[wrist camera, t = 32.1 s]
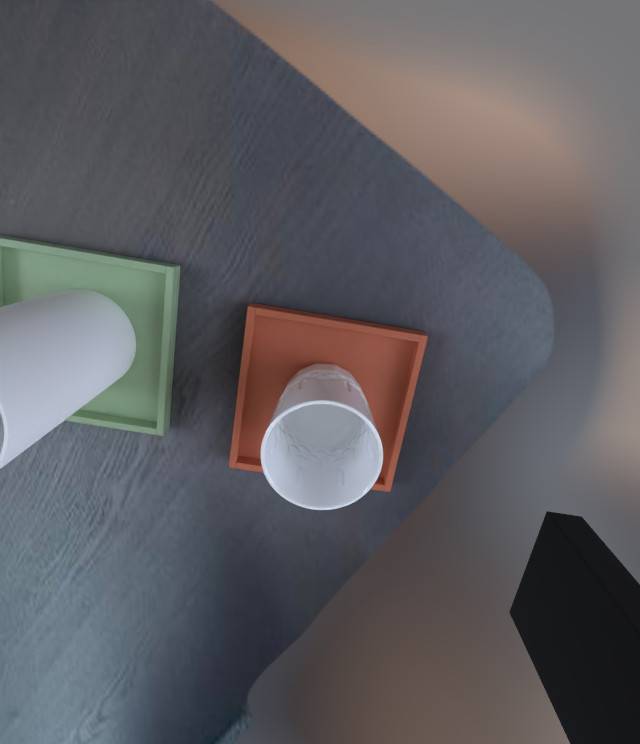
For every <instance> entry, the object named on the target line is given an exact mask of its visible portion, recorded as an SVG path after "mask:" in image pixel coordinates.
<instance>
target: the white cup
mask: <svg viewBox="0 0 640 744" xmlns="http://www.w3.org/2000/svg"><path fill="white" fill-rule="evenodd" d="M260 456H261V465H262V469H263V472H264V474H265V476H266V478H267V480H268V482H269V483H270V485H271V486H272V487H273V489H274V490H275V491H276V492H277V493H278V494H280V495H281V496H282V497H283V498H285V499H286V500H288V501H290V502H291V503H293V504H296V505H298V506H301V507H304V508H308V509H315V510H330V509H336V508H340V507H343V506H346V505H349V504H351V503H353V502H355V501H357V500H358V499H360V498H361V497H362V496H364V495H365V494H366V493H367V492H368V491H369V490H370V489H371V488H372V486H373V485H374V483H375V482H376V480H377V478H378V476H379V474H380V471H381V468H382V463H383V448H382V443H381V439H380V437H379V434H378V431H377V428H376V425H375V422H374V419H373V416H372V413H371V410H370V408H369V406H368V403H367V400H366V398H365V396H364V394H363V392H362V389H361V386H360V385H359V384H358V382H357V381H356V379H355V378H354V377H353V375H352V374H351V373H350V372H348V371H347V370H345V369H343V368H341V367H339V366H337V365H335V364H322V363H315V364H313V365H310V366H308V367H305V368H303V369H300V370H299V371H298V372H297V373H296V374H295V375H294V376H293V377H292V378H291V380H290V381H289V382H288V383H287V385H286V388H285V390H284V392H283V393H282V395H281V397H280V399H279V401H278V403H277V405H276V408H275V410H274V413H273V415H272V418H271V420H270V423H269V425H268V428H267V430H266V433H265V435H264V437H263V440H262V444H261V453H260Z"/></svg>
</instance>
